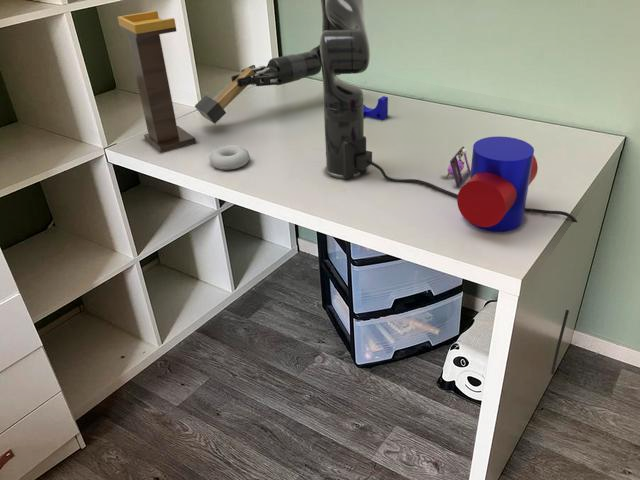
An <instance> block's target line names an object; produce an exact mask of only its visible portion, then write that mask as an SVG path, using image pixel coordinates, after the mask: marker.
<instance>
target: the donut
mask: <svg viewBox="0 0 640 480" xmlns="http://www.w3.org/2000/svg"><path fill="white" fill-rule="evenodd" d="M208 157H209V163H210V164H211V165H212V166H213V167H214V168H217V169H219V170H225V171H227V170H235V169H239V168H241V167H244V166H245V165H246V164H247V163H249V160H250V157H251V156H250V153H249V150H248V149H246V148H245V147H243V146H240V145H235V144H229V145H227V144H226V145H223V146H219V147H216V148H214V149H213V150H211V153H210V154H209V156H208Z"/></svg>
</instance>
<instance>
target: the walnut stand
mask: <svg viewBox="0 0 640 480" xmlns="http://www.w3.org/2000/svg"><path fill="white" fill-rule="evenodd" d="M118 26H119V29H120V31H122V32H124V33H126V39H127V42H128V46H129V51H130V56H131V60H132V65H133V69H134V74H135V80H136V84H137V89H138V92H139V97H140V101H141V106H142V110H143V115H144V120H145V125H146V129H147V133H145V134H143V137H144V141H146V142H147V143H148V144H150V145H151V146H153V147H154V148H155V149H156V150H157V151H159V152H160V153H164V152H168V151H171V150H175V149H178V148H181V147H186V146H189V145H193V144H197V141H196V137H195V136H193V135H192V134H190V133H189V132H188V131H186V130H185V129H183V128H182V127H180V126H179V125H177V119H176V115H175V109H174V104H173V98H172V94H171V87H170V83H169V78H168V72H167V68H166V67H167V66H166V62H165V61H166V60H165V57H164V51H163V46H162V40H161V35H163V34H170V33H176V32H178V31H177V26H176V27H174V28H168V29H162V30H156V31H151V32H145V33H139V34H135V33H133V32H132V31H130V30H128V29H126V28H124V27H122V26H120V25H119V24H118Z"/></svg>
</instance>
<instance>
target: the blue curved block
mask: <svg viewBox="0 0 640 480" xmlns="http://www.w3.org/2000/svg"><path fill="white" fill-rule="evenodd" d="M388 117H389V97H388V96H386V95H383V96H381V97H379V98H377V103H376V106H375V108H371V107H368V106H366V105H365V104H364V118H370V119H375V120H379V121H384V120H385V119H387V118H388Z"/></svg>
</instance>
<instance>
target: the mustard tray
mask: <svg viewBox="0 0 640 480" xmlns="http://www.w3.org/2000/svg"><path fill="white" fill-rule="evenodd" d="M117 21H118V26H119V25H120V26H122V27H124V28H126V29H128V30H130V31H132V32H133V33H135V34H139V33H145V32H151V31H156V30H162V29H168V28H174V27H176V28H177V26H176V19H175V18H174V17H170V18H165V19H163V18H160V17H159V12H158V10H152V11H146V12H139V13H133V14H127V15H120V16H117ZM120 26H119V27H120Z"/></svg>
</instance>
